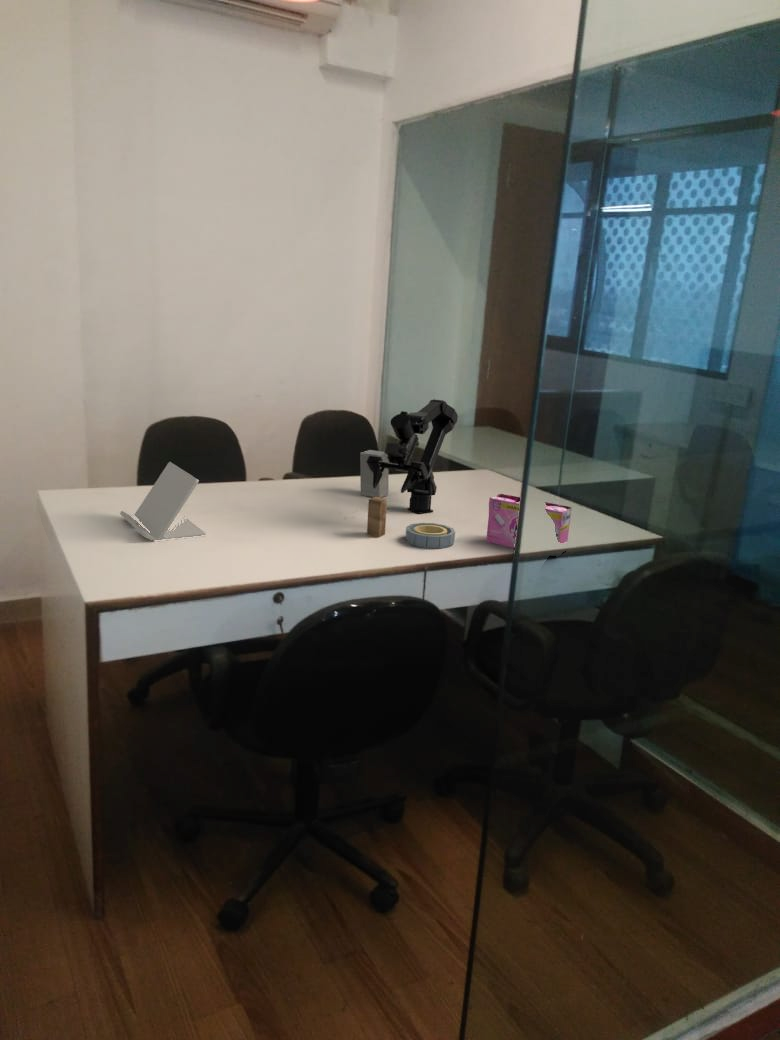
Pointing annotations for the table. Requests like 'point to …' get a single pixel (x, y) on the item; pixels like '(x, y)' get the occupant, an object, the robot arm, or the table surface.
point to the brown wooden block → (376, 517)
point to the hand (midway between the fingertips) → (387, 489)
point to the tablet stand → (166, 506)
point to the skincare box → (367, 476)
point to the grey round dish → (430, 535)
